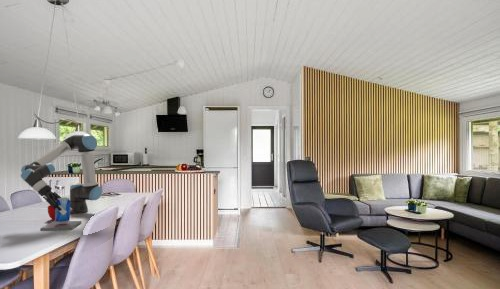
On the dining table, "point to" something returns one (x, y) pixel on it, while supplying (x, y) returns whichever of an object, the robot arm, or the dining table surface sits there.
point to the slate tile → (61, 225)
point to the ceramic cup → (51, 212)
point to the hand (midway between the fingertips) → (68, 212)
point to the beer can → (66, 206)
